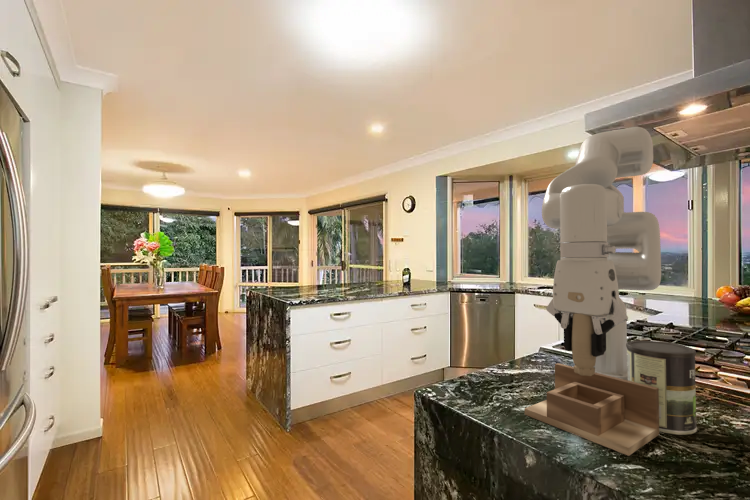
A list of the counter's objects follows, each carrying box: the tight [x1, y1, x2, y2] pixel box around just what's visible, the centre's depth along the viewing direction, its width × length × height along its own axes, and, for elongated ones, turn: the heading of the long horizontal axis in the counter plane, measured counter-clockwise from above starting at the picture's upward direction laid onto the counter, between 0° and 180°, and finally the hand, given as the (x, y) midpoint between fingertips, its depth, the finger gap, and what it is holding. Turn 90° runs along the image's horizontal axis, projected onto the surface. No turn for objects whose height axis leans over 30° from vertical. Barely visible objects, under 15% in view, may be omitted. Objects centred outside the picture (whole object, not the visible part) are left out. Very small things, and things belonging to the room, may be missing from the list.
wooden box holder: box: [524, 362, 660, 457], centre depth 68 cm, size 12×18×8 cm, turn 34°
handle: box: [568, 292, 596, 376], centre depth 68 cm, size 5×6×15 cm
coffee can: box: [626, 339, 698, 436], centre depth 69 cm, size 10×10×14 cm
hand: (584, 351), depth 68 cm, fingers closed on handle, 4 cm apart
